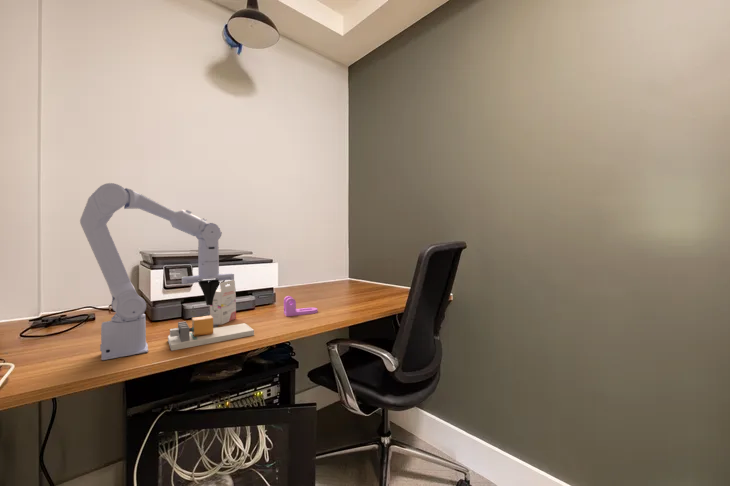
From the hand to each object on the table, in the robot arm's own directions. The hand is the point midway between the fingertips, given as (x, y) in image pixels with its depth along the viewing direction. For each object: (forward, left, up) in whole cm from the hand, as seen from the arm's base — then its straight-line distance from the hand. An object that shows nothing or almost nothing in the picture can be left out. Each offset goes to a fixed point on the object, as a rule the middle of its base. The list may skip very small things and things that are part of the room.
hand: (209, 304), depth 97 cm
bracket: (+35, +8, -10) cm, 37 cm away
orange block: (-3, -4, -8) cm, 9 cm away
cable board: (0, -4, -9) cm, 10 cm away
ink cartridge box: (+7, +14, -10) cm, 18 cm away
